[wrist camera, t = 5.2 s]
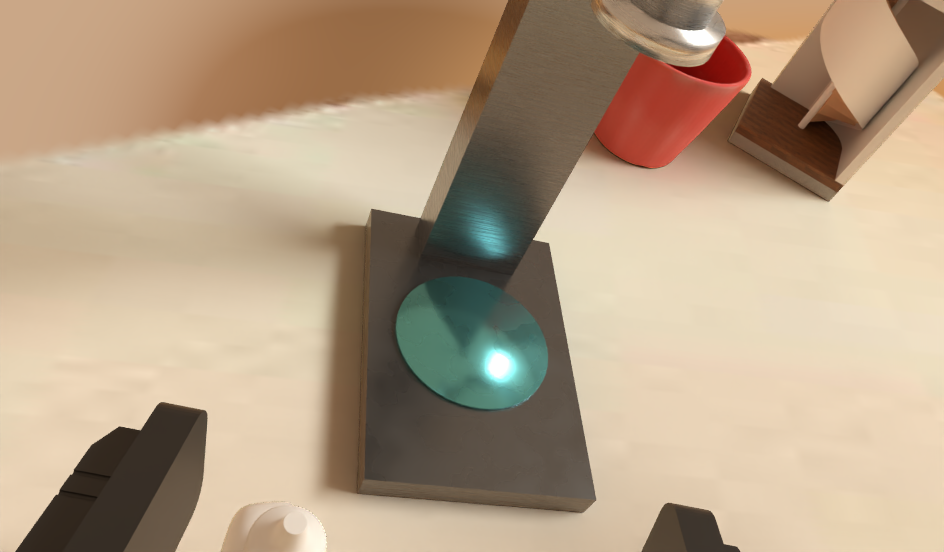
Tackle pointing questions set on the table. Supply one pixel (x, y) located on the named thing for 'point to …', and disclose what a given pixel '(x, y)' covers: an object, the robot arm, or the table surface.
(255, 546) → the eye dropper bottle
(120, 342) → the table surface
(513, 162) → the arbor press
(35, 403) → the table surface
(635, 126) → the flower pot
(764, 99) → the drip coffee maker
